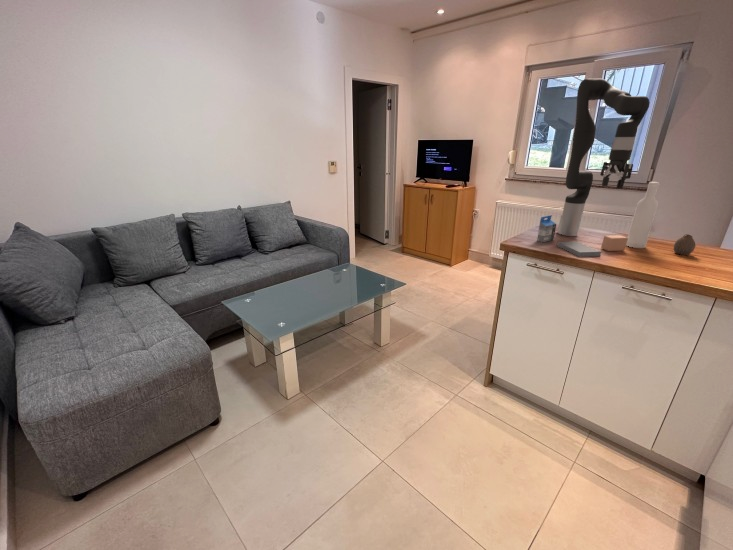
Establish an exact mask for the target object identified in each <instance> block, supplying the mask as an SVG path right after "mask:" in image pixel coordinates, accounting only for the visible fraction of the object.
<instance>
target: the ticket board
mask: <svg viewBox="0 0 733 550" xmlns="http://www.w3.org/2000/svg"><path fill="white" fill-rule="evenodd" d="M558 246H559V247H558ZM556 247H558V248H559V249H562V248H563V249H562V250H564V249H565V251H566V250H567V252H568V251H569V252H568V253H570V252H571V254H573V255H574V256H576V257H600V256H601V254H602V251H601V250H599V249H596V248H594V247H591V246H589V245H587V244H584V243H582V242H581V241H577V240H575V241H557V244H556Z"/></svg>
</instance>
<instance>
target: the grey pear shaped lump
mask: <svg viewBox="0 0 733 550" xmlns="http://www.w3.org/2000/svg"><path fill="white" fill-rule="evenodd" d="M695 249H696V241H695V239H694V238H693V235H692V234H684V235H683V236H681V237H680V238H678V239H677V240H676V241H675V242H674V245H673V251H674V253H675V254H676V255H679V254H680V256H689V255H691V254H692V253H693V252H694V250H695Z"/></svg>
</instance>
